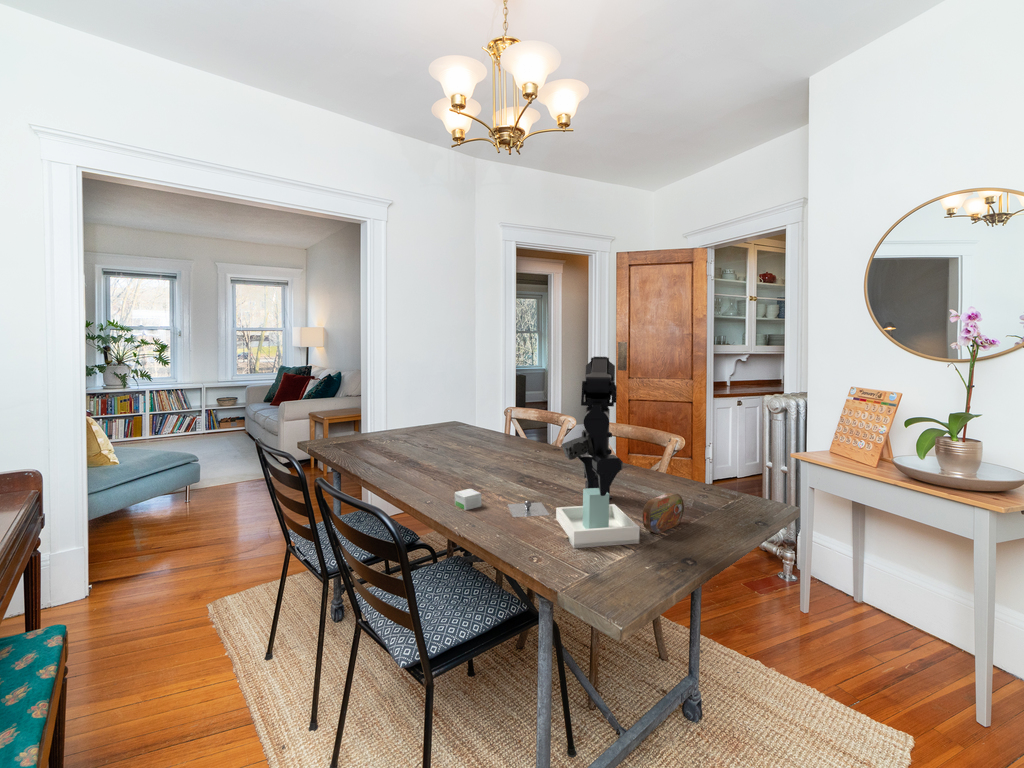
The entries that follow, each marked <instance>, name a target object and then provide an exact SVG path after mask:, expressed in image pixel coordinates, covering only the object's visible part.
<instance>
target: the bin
mask: <svg viewBox="0 0 1024 768" xmlns="http://www.w3.org/2000/svg"><path fill="white" fill-rule="evenodd" d="M555 510H556V511H555V512H556V513H555V519H556V521H557V522H558V523H559V525H560V526H561V528H562V529H563V531H564V532H565V534H566V535H567V536H568V537H566V539H567V540H568V542H569V543H570V544H571V546H572V548H573V549H583V548H593V547H594V548H596V547H607V546H622V545H623V546H624V545H635V544H636V545H637V544H640V526H639V524H637V523H636V522H635V521H634V520H632V519H631V518H630V517H629V516H628V515H627V514H626V512H623V511H622V510H621V509H620V507H619V506H617V505H616V504H615V503H611V504H610V503H609V527H607V528H593V529H585V528H584V526H583V505H578V506H577V505H576V506H561V507H560V506H559V507H556V509H555Z"/></svg>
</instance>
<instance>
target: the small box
mask: <svg viewBox="0 0 1024 768" xmlns="http://www.w3.org/2000/svg"><path fill="white" fill-rule="evenodd" d="M454 505H455V507H458V508H460V509H462V510H464V511H467V510H472V509H477V508H480V507H482V493H481V492H479V491H476V490H474V489H472V488H467V489H462V490H459V491H455V492H454Z"/></svg>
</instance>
